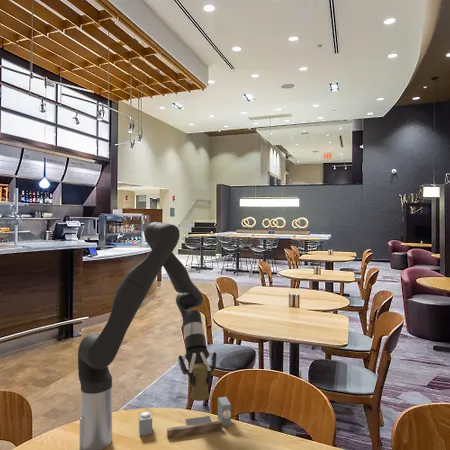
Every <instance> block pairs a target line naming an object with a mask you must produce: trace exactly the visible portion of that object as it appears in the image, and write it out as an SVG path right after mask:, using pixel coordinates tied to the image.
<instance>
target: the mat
mask: <svg viewBox="0 0 450 450" xmlns="http://www.w3.org/2000/svg"><path fill="white" fill-rule="evenodd" d="M207 422H213V420H212V419H211V417H210V415H206V416H199V417H198V416H197V417H192V418H186V419H185V424H186V425H193V424H200V423H207Z"/></svg>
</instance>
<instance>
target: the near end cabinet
mask: <svg viewBox="0 0 450 450" xmlns="http://www.w3.org/2000/svg"><path fill="white" fill-rule="evenodd" d="M152 415H153V413H152V410H150V411H142V412H138V433H139V434H138V435H139V437H141V436H149V435H153V416H152Z"/></svg>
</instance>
